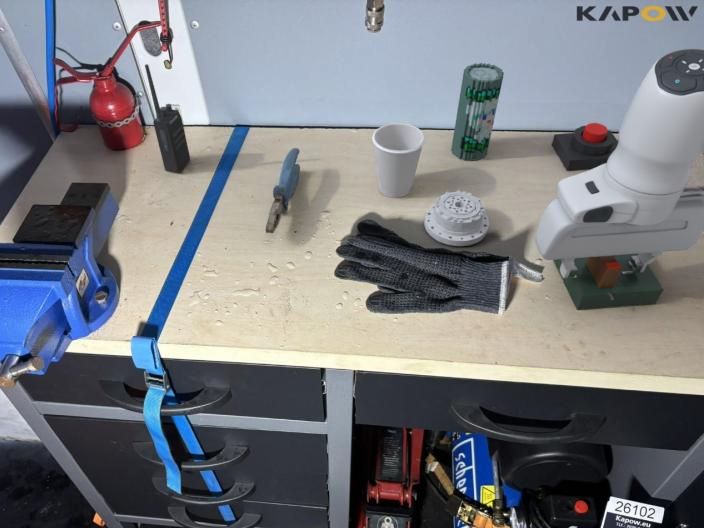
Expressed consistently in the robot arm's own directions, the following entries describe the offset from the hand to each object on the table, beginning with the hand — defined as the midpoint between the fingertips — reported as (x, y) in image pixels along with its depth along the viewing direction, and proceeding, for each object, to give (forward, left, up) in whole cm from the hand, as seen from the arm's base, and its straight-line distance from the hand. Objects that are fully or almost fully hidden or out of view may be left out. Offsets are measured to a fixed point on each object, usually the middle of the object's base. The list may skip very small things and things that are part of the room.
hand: (600, 271), depth 83 cm
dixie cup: (+24, -27, -4) cm, 36 cm away
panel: (-2, -2, -4) cm, 4 cm away
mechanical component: (+16, -16, -4) cm, 23 cm away
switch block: (-11, -32, -4) cm, 34 cm away
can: (+9, -36, -4) cm, 37 cm away
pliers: (+43, -24, -4) cm, 49 cm away
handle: (0, 0, -1) cm, 1 cm away
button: (-11, -31, 0) cm, 33 cm away
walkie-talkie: (+62, -38, -4) cm, 73 cm away
